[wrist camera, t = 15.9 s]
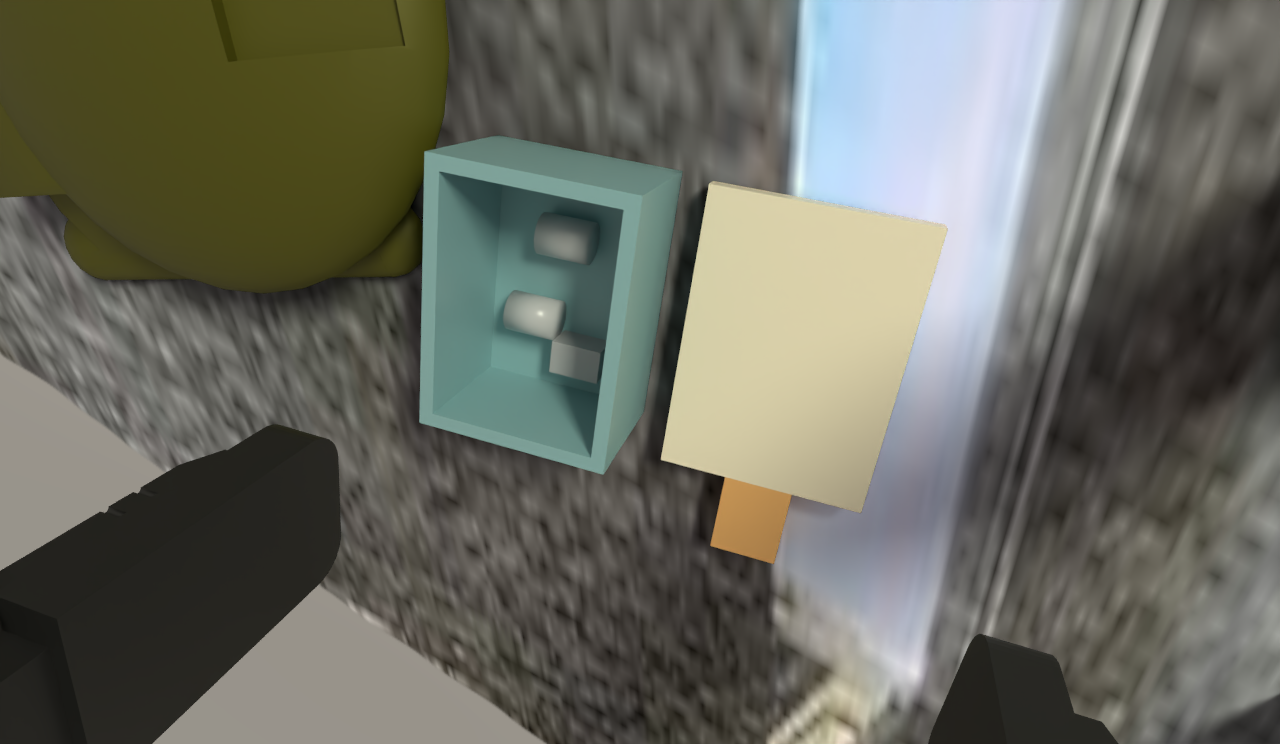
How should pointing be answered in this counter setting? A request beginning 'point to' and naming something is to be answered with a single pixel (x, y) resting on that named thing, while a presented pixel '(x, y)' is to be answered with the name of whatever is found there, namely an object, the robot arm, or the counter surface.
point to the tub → (541, 295)
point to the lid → (793, 353)
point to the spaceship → (225, 133)
